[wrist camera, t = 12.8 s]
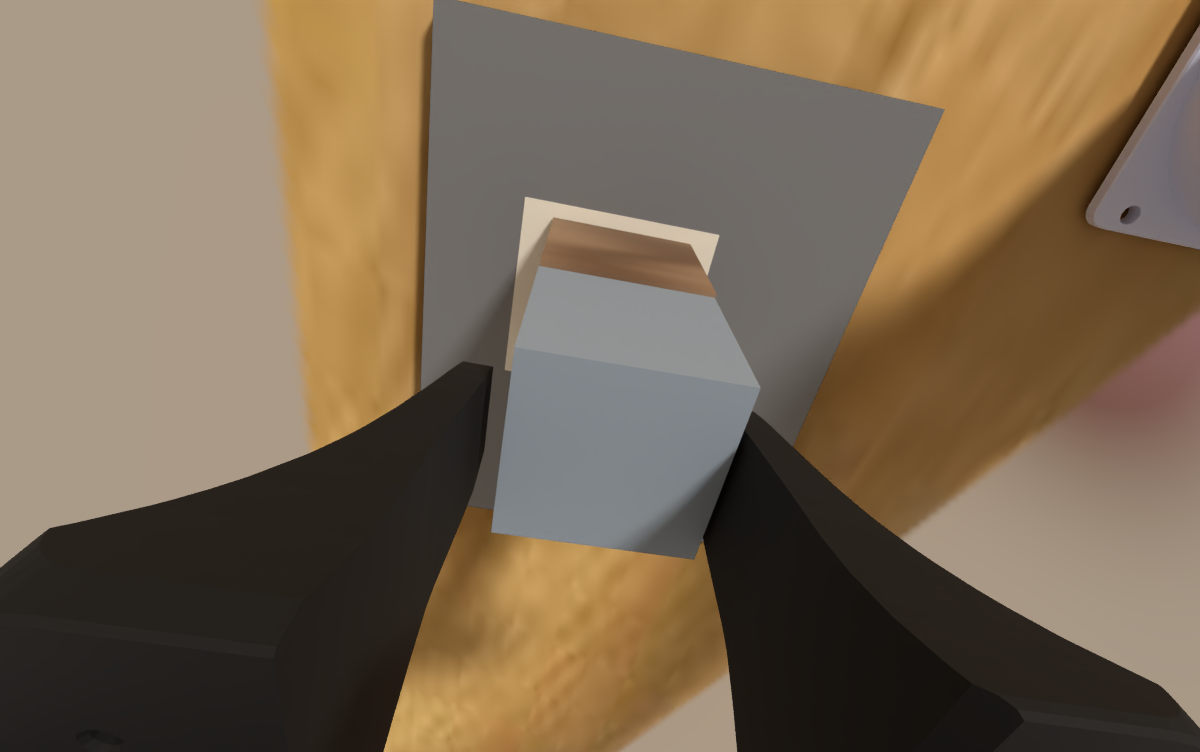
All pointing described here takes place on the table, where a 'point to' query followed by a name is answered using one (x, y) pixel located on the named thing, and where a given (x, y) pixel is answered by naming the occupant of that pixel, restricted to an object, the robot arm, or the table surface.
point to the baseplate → (651, 191)
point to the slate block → (620, 415)
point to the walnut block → (624, 257)
